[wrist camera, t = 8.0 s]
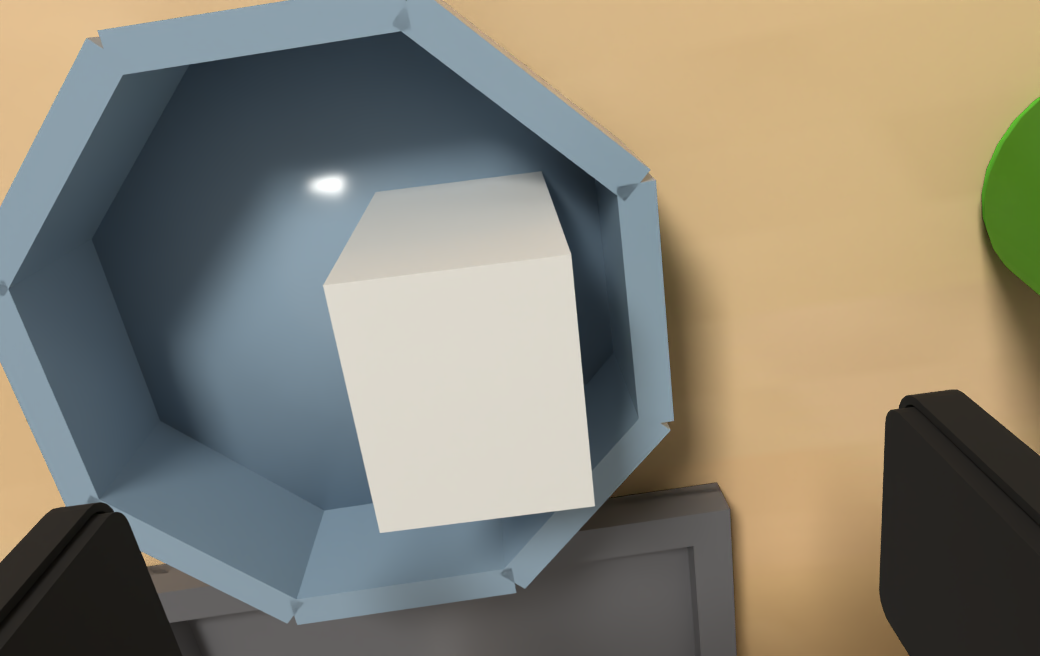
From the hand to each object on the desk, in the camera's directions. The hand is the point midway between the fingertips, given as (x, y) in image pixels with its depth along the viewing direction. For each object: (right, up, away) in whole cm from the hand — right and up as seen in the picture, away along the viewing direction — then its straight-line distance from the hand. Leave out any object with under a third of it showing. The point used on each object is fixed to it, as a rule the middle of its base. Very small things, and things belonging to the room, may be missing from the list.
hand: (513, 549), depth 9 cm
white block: (-1, +4, +8) cm, 9 cm away
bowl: (-3, +4, +9) cm, 10 cm away
